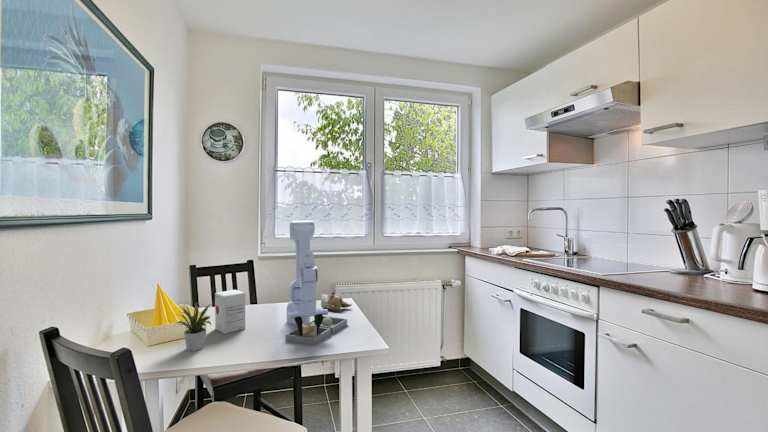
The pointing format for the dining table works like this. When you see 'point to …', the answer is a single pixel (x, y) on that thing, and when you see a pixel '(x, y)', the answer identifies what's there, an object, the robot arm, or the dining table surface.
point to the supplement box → (229, 311)
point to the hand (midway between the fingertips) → (308, 335)
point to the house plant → (195, 328)
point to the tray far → (334, 324)
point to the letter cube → (309, 330)
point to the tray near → (296, 337)
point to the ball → (327, 322)
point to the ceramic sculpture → (333, 302)
